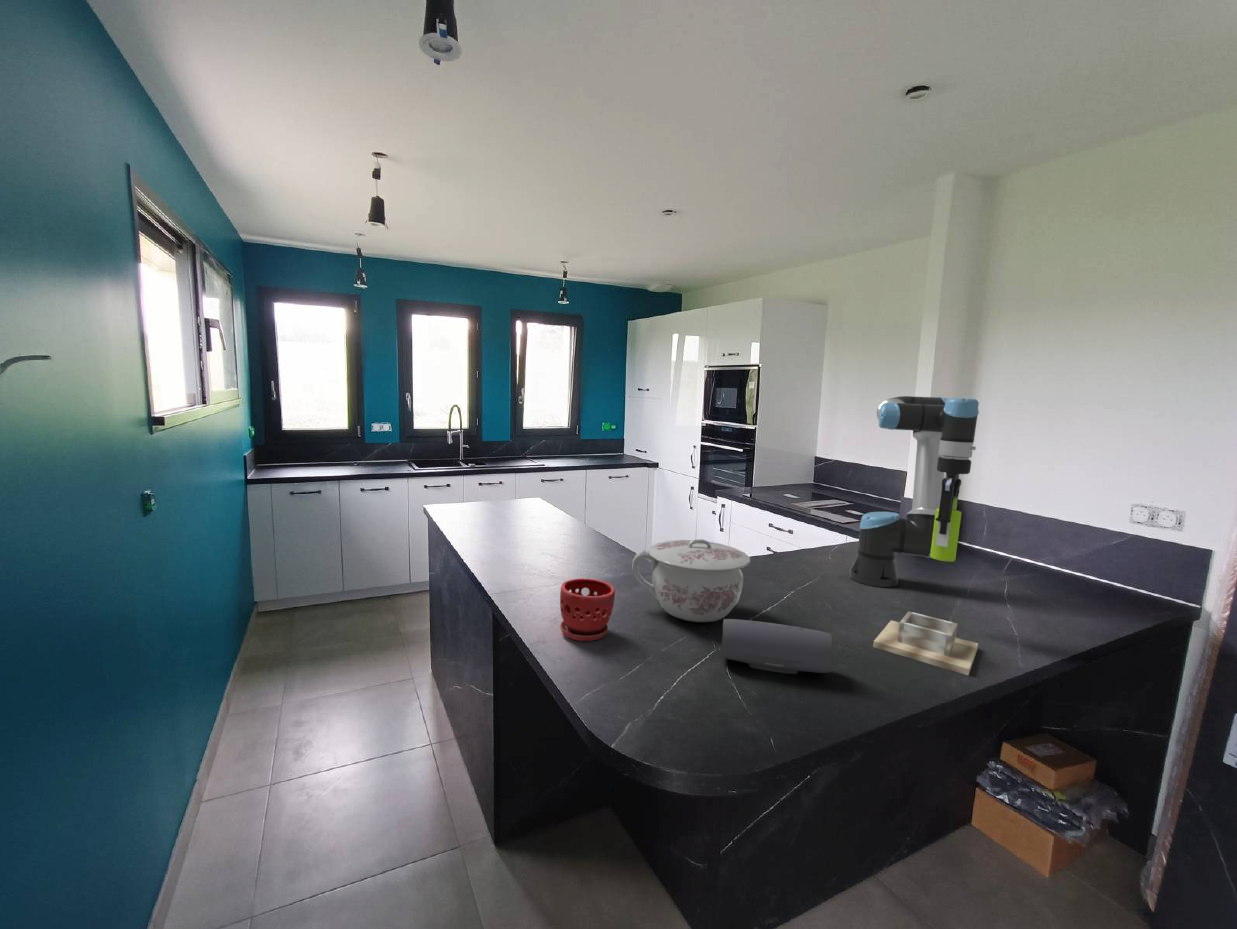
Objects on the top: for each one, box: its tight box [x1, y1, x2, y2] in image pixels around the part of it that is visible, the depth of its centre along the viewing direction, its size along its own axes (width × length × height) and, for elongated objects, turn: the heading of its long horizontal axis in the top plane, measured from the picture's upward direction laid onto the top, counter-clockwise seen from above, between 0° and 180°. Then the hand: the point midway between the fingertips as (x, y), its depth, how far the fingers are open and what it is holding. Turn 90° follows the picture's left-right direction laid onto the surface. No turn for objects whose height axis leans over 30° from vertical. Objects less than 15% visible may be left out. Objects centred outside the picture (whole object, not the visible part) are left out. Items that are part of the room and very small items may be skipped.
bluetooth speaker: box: [720, 618, 833, 675], centre depth 122 cm, size 23×9×10 cm, turn 77°
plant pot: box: [559, 578, 616, 642], centre depth 134 cm, size 13×13×12 cm
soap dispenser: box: [929, 497, 962, 563], centre depth 148 cm, size 6×7×20 cm
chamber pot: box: [631, 538, 751, 623], centre depth 151 cm, size 28×28×21 cm
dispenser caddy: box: [872, 611, 979, 676], centre depth 136 cm, size 20×18×6 cm
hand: (943, 543), depth 148 cm, fingers closed on soap dispenser, 6 cm apart
